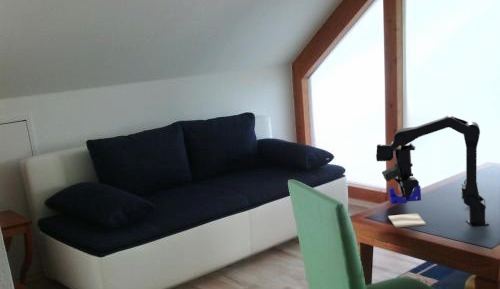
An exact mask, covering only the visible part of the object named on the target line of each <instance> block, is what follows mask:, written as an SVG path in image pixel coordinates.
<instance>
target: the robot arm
mask: <svg viewBox="0 0 500 289" xmlns="http://www.w3.org/2000/svg"><path fill="white" fill-rule="evenodd" d="M448 128H450V129H452V130H454V131H455V132H458V133H459V134H462V135H463V139H464V143H465V152H466V153H465V162H466V164H465V170H466V171H465V172H466V173H465V175H466V178H465V180H466V183H465V185H464V183H463V184H462V183H461V184H460V185H461V192H460V194H461V200H463V202H464V204H465V205H466V206H467V207H468V213H469V214H468V215H469V216H468V217H469V218H466V219H465V221H466V222H467V223H468V224H469V225H470V226H471V227H479V226H488V225H489V226H490V222H488V221H487V220H486V209H487V207H486V206H487V205H486V200H485V198H483V197H482V196H481V195H480V192H479V188H478V184H477V183H478V182H477V175H478V174H477V172H478V171H477V168H478V166H477V160H478V159H477V157H478V156H477V152H478V151H477V149H478V148H477V147H478V144H479V140H480V134H481V130H480V126H479V124H478V123H477V122H475V121H466V120H464V119H461V118H459V117H458V118H457V117H455V116H453V115H452V114H449V115H446V116H444V117H440V118H439V119H436V120H433V121H429V122H427V123H424V124H421V125H418V126H413V127H404V128H399V129H398V130H397V131H396V132H395V135H394V137H393V140H392V141H391V142H390V144H381V143H380V144H379V143H378V144H377V145H376V154H375V157H376V158H375V159H376V162H392V160H393V159H395V162H394V163H393V164H394V166H392V167H390V168H387V169H385V170H383V171H381V174H382V175H383V178H384V180H385V181H386V182H390V181H392V180H394V181H395V182H397V184H398V186H399V188H400V193H401V196H405V198H406V200H409V198H410V196H411V193H412V191H413V190H414V187H418V186H419V185H420V182H419V181H418V179H416V178H415V177H414V174H413V171H412V167H413V165H414V164H413V163H412V156H411V155H412V154H411V151H415V150H416V146H415V145H413V143H412V142H413V141H415V140H416V139H419V138H420V137H423V136H426V135H430V134H432V133H434V132H438V131H441V130H444V129H448Z"/></svg>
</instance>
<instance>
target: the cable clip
mask: <svg viewBox="0 0 500 289" xmlns="http://www.w3.org/2000/svg"><path fill="white" fill-rule="evenodd" d="M421 190H422V189H421V185H420V184H419V186H418V187H414V189H413V191H412V193H411V196H410V198H409V200H406V198H405V196H402V195H399V194H397V193H396V191H395V189H394V187H393V186H388V198H389V199H388V200H389V202H390V204H391V205H400V204H407V203H408V202H409V203H411V202H419V201H422V192H421Z"/></svg>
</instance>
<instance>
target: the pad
mask: <svg viewBox="0 0 500 289" xmlns="http://www.w3.org/2000/svg"><path fill="white" fill-rule="evenodd" d="M387 217H388V219H389V220H390V222H391V223H392V225H393V226H394V228H396V229H397V228H398V229H399V228H408V227H417V226H425V225H426V226H427V223H426V222H425V221H424V220H423V219H422V217H421V216H420V215H419V214H418V213H417V212H416V213H407V214H406V213H405V214H396V215H388V216H387Z"/></svg>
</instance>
